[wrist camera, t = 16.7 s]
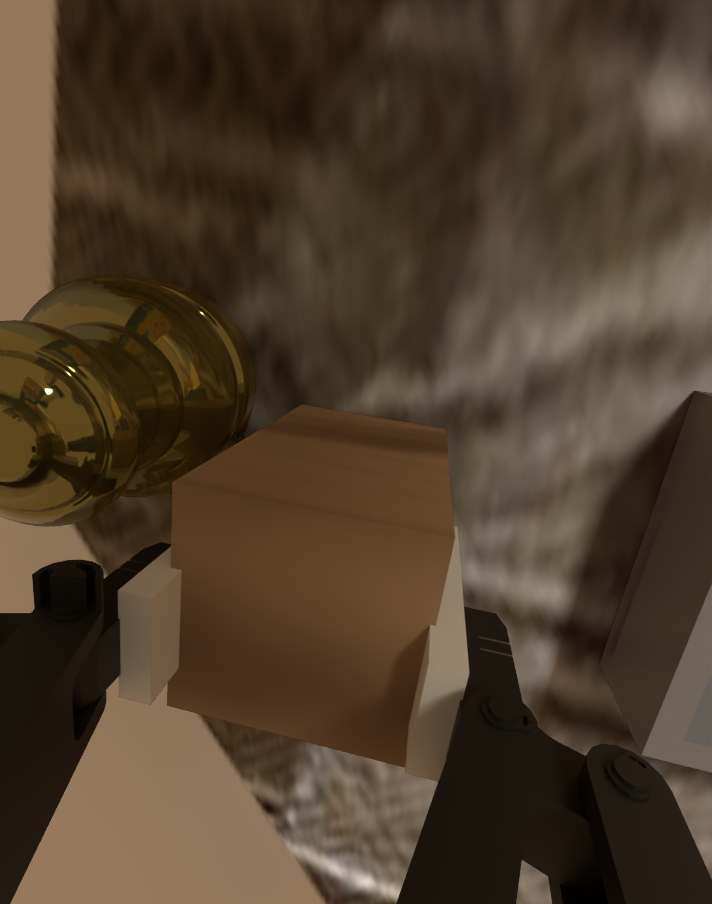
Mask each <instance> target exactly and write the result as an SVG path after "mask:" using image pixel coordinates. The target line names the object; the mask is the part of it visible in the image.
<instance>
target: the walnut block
mask: <svg viewBox="0 0 712 904" xmlns="http://www.w3.org/2000/svg"><path fill="white" fill-rule="evenodd" d="M454 541H455V529H454V517H453V506H452V494H451V482H450V471H449V459H448V447H447V435H446V429H444V428H438V427H432V426H427V425H421V424H415V423H409V422H403V421H397V420H391V419H385V418H379V417H373V416H368V415H362V414H356V413H350V412H344V411H338V410H332V409H326V408H320V407H314V406H309V405H303V404H302V405H300V406H299V407H297V408H295V409H294V410H292V411H290V412H289V413H287V414H285V415H284V416H282V417H280V418H279V419H277V420H275V421H274V422H272V423H270V424H269V425H267V426H265V427H264V428H262V429H260V430H258V431H257V432H255V433H253V434H252V435H250V436H248V437H247V438H245V439H243V440H242V441H240V442H238V443H237V444H235V445H233V446H232V447H230V448H228V449H227V450H225V451H223V452H222V453H220V454H218V455H217V456H215V457H213V458H212V459H210V460H208V461H207V462H205V463H203V464H202V465H200V466H198V467H197V468H195V469H193V470H192V471H190V472H188V473H187V474H185V475H183V476H182V477H180V478H178V479H177V480H175V481H173V485H172V527H171V568H175V569H180V570H182V575H181V607H180V639H179V668H178V669H177V671H176V672H175V673H174V675H173V676H172V677H171V679H170V680H169V681H168V693H167V705H168V706H171V707H175V708H179V709H182V710H186V711H190V712H194V713H198V714H202V715H205V716H209V717H213V718H217V719H221V720H225V721H228V722H232V723H236V724H240V725H244V726H248V727H251V728H255V729H259V730H263V731H267V732H271V733H274V734H278V735H282V736H286V737H290V738H294V739H297V740H301V741H305V742H309V743H313V744H317V745H320V746H324V747H328V748H332V749H336V750H340V751H343V752H347V753H351V754H355V755H359V756H363V757H366V758H370V759H374V760H378V761H382V762H386V763H389V764H393V765H397V766H401V767H405V765H406V753H407V741H408V728H409V722H410V717H411V712H412V708H413V703H414V698H415V693H416V689H417V684H418V679H419V675H420V670H421V665H422V661H423V656H424V651H425V647H426V642H427V637H428V632H429V628H430V625H434V626H436V623H437V619H438V614H439V610H440V605H441V601H442V596H443V591H444V587H445V582H446V578H447V573H448V569H449V564H450V559H451V555H452V550H453V546H454Z"/></svg>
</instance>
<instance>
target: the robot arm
mask: <svg viewBox="0 0 712 904" xmlns="http://www.w3.org/2000/svg"><path fill="white" fill-rule="evenodd" d="M454 529H455V541H454V546H453V550H452V555H451V559H450V564H449V569H448V573H447V578H446V582H445V587H444V591H443V596H442V601H441V605H440V610H439V614H438V619H437V623H436V626H434V625H430V628H429V632H428V637H427V642H426V647H425V651H424V656H423V661H422V665H421V670H420V675H419V679H418V684H417V689H416V693H415V698H414V703H413V708H412V712H411V717H410V722H409V728H408V741H407V753H406V766H405V773H408V774H412V775H415V776H419V777H423V778H427V779H430V780H434V781H438V785H437V788H436V790H435V793H434V796H433V799H432V802H431V805H430V808H429V811H428V814H427V817H426V819H425V822H424V825H423V828H422V831H421V834H420V837H419V840H418V843H417V846H416V848H415V851H414V854H413V857H412V860H411V863H410V866H409V869H408V872H407V875H406V877H405V880H404V883H403V886H402V889H401V892H400V895H399V898H398V901H397V904H516V899H517V892H518V884H519V876H520V869H521V861H522V860H523V861H525V862H527V863H528V864H530V865H531V866H533V867H534V868H536V869H538V870H539V871H541V872H542V873H544V874H545V875H547V876H548V879H549V885H550V891H551V898H552V904H712V879H711V877H710V875H709V873H708V870H707V868H706V866H705V864H704V861H703V859H702V857H701V855H700V853H699V850H698V848H697V846H696V844H695V842H694V839H693V837H692V835H691V833H690V830H689V828H688V826H687V824H686V822H685V819H684V817H683V815H682V813H681V810H680V808H679V806H678V804H677V802H676V799H675V797H674V795H673V793H672V791H671V789H670V788H669V786H668V785H667V783H666V781H665V780H664V778H663V777H662V776H661V775H660V774H659V773H658V772H657V771H656V770H655V769H654V768H653V767H652V766H651V765H650V764H649V763H648V762H646V761H645V760H644V759H642V758H641V757H639V756H638V755H636V754H635V753H633V752H631V751H629V750H626V749H624V748H621V747H619V746H616V745H608V744H600V745H597V746H594V747H592V748H591V749H590V751H589V752H588V754H587V755H586V756H584V755H582V754H580V753H578V752H576V751H574V750H572V749H571V748H569V747H567V746H565V745H563V744H561V743H559V742H557V741H556V740H554V739H552V738H551V737H549V736H548V735H547V734H545V733H544V732H543V731H542V730H540V729H539V728H538V727H537V721H536V719H535V717H534V716H533V714H532V712H531V711H530V709H529V708H528V707H527V706H526V705H525V704H523V702H522V697H521V693H520V688H519V683H518V679H517V674H516V670H515V665H514V660H513V657H512V651H511V647H510V645H509V637H508V633H507V628H506V627H505V625H504V624H503V623H502V621H501V620H500V619H499V617H498V616H497V615H496V614H495V613H491V612H486V611H482V610H477V609H472V608H468V607H464V602H463V590H462V578H461V566H460V554H459V542H458V530H457V527H454ZM181 575H182V570H180V569H175V568H171V544H167V543H162V542H160V543H158V544H155V545H153V546H150V547H147V548H145V549H143V550H141V551H140V552H139V553H137V554H136V555H135V556H134V557H132V558H131V559H130V561H127V562H126V563H124V564H123V565H122V566H120V569H116V570H115V571H114V572H112V573H111V574H110V575H109V576H107V577H106V578H105V579H104V575H103V570H102V568H101V566H100V565H98V564H96V563H94V562H92V561H86V560H67V561H62V562H57V563H53V564H51V565H48V566H45V567H43V568H41V569H39V570H38V571H37V572H35V573H34V574H32V578H33V592H34V605H35V609H34V610H33V612H32V613H0V904H10V903H11V901H12V899H13V897H14V895H15V893H16V891H17V888H18V886H19V884H20V882H21V880H22V878H23V876H24V874H25V872H26V870H27V868H28V866H29V864H30V862H31V860H32V858H33V856H34V853H35V852H36V849H37V847H38V845H39V843H40V841H41V839H42V837H43V835H44V833H45V831H46V829H47V827H48V825H49V823H50V821H51V819H52V816H53V814H54V812H55V810H56V808H57V806H58V804H59V802H60V800H61V798H62V796H63V794H64V792H65V790H66V788H67V786H68V784H69V782H70V779H71V777H72V775H73V773H74V771H75V769H76V767H77V765H78V763H79V761H80V759H81V756H82V755H83V752H84V750H85V748H86V747H87V744H88V742H89V740H90V738H91V736H92V734H93V732H94V730H95V728H96V726H97V724H98V722H99V720H100V718H101V716H102V713H103V711H104V708H105V705H106V689H107V688H108V687H109V686H110V685H111V683H113V682H114V680H115V679H116V678H117V677H118V676H119V697H122V698H126V699H130V700H134V701H138V702H141V703H145V704H149V705H151V704H152V702H153V701H154V700H155V698H156V697H157V696H158V694H159V693H160V692H161V691H162V689H163V687H164V686H165V685H166V684H167V683H168V681H169V680H170V679H171V677H172V676H173V675H174V673H175V672H176V671H177V669H178V668H179V639H180V607H181Z"/></svg>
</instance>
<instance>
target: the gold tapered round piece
mask: <svg viewBox="0 0 712 904" xmlns="http://www.w3.org/2000/svg"><path fill="white" fill-rule="evenodd" d="M255 392H256V371H255V365H254V360H253V356H252V353H251V350H250V348H249V345H248V343H247V341H246V339H245V337H244V335H243V333H242V332H241V330H240V329H239V327H238V326H237V324H236V323H235V322H234V320H233V319H232V318H231V317H230V316H229V315H228V314H227V313H226V312H225V311H224V310H223V309H222V308H221V307H220V306H219V305H217V304H216V303H215V302H213V301H212V300H210V299H209V298H207V297H206V296H204V295H202V294H200V293H198V292H196V291H194V290H191V289H189V288H186V287H183V286H179V285H174V284H169V283H166V282H162V281H158V280H152V279H143V278H134V277H128V276H120V275H96V276H89V277H84V278H80V279H77V280H74V281H71V282H68V283H66V284H64V285H62V286H60V287H57V288H56V289H54V290H52V291H51V292H49V293H48V294H46V295H45V296H44V297H43V298H41V299H40V300H39V301H38V302H37V303H36V304H35V305H34V306H33V307H32V308H31V309H30V311H29V312H28V313H27V315H26V316H25V317H24V319H23V320H22V321H16V320H14V321H0V516H1V517H4V518H6V519H9V520H12V521H15V522H19V523H23V524H28V525H34V526H62V525H68V524H73V523H77V522H80V521H83V520H85V519H88V518H90V517H92V516H94V515H96V514H98V513H100V512H101V511H103V510H105V509H106V508H108V507H109V506H110V505H112V504H113V503H114V502H115V501H116V500H117V499H118V498H119V497H120V496H125V497H149V496H156V495H161V494H165V493H169V492H172V485H173V481H175V480H177V479H178V478H180V477H182V476H183V475H185V474H187V473H188V472H190V471H192V470H193V469H195V468H197V467H198V466H200V465H202V464H203V463H205V462H207V461H208V460H210V459H212V458H213V457H215V456H217V455H218V454H220V453H222V452H223V451H225V450H226V449H227V448H228V447H229V446H230V445H231V443H232V442H233V441H234V439H235V438H236V436H237V434H238V433H239V431H240V430H241V429H242V427H243V426H244V424H245V423H246V421H247V419H248V417H249V415H250V412H251V410H252V406H253V403H254V398H255Z"/></svg>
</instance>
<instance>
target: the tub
mask: <svg viewBox="0 0 712 904" xmlns="http://www.w3.org/2000/svg"><path fill="white" fill-rule="evenodd" d="M599 664H600V666H601V668H602V670H603V673H604V675H605V677H606V679H607V681H608V683H609V686H610V688H611V690H612V692H613V694H614V697H615V699H616V701H617V703H618V705H619V707H620V710H621V712H622V714H623V716H624V718H625V720H626V723H627V725H628V727H629V729H630V731H631V733H632V736H633V738H634V740H635V742H636V744H637V746H638V749H639V751H640V753H641V755H643V756H647V757H651V758H655V759H659V760H663V761H667V762H671V763H675V764H679V765H683V766H687V767H691V768H695V769H699V770H703V771H707V772H711V773H712V393H706V392H699V391H694V394H693V396H692V399H691V402H690V405H689V408H688V411H687V414H686V417H685V419H684V422H683V425H682V428H681V431H680V434H679V437H678V439H677V442H676V445H675V448H674V451H673V454H672V457H671V460H670V462H669V465H668V468H667V471H666V474H665V477H664V480H663V482H662V485H661V488H660V491H659V494H658V497H657V500H656V503H655V505H654V508H653V511H652V514H651V517H650V520H649V523H648V525H647V528H646V531H645V534H644V537H643V540H642V543H641V546H640V548H639V551H638V554H637V557H636V560H635V563H634V566H633V568H632V571H631V574H630V577H629V580H628V583H627V586H626V589H625V591H624V594H623V597H622V600H621V603H620V606H619V609H618V611H617V614H616V617H615V620H614V623H613V626H612V629H611V631H610V634H609V637H608V640H607V643H606V646H605V649H604V652H603V654H602V657H601V660H600V663H599Z"/></svg>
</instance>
